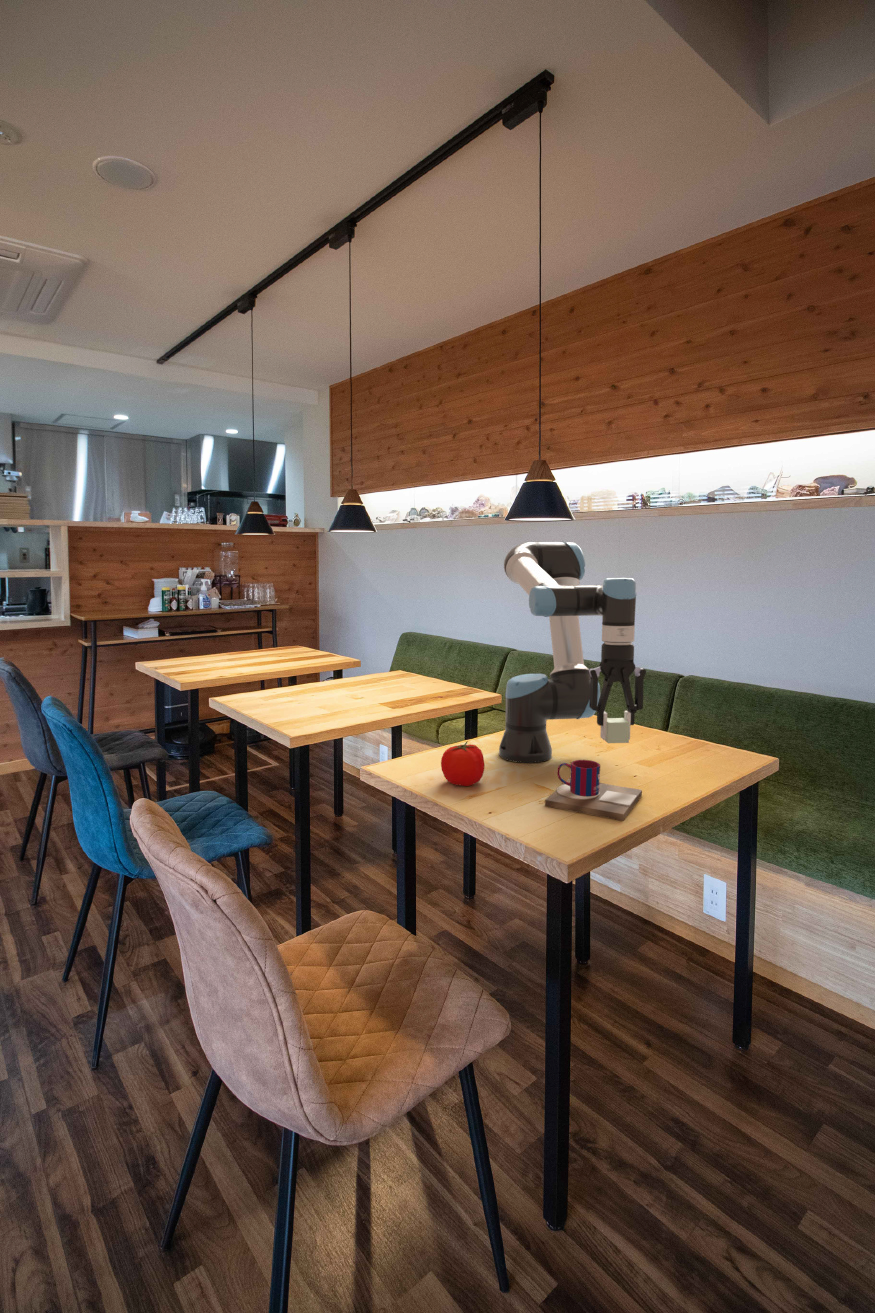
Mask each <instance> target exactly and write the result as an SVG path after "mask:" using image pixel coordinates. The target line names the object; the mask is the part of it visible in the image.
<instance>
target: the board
mask: <svg viewBox="0 0 875 1313" xmlns="http://www.w3.org/2000/svg"><path fill="white" fill-rule="evenodd" d="M570 778H571V777H569V778H568V779H567V780H565V781H566V782H569V783H570ZM642 796H643V790H642V789H639V788H632V787H626V786H619V785H614V784H608V783H601V782H600V783H599V794H598V795H595V796H579V795H575V794H573V793H572V792H571V791H570V786H568V785H566V784H564V783H563V782H562V784H561V785H560V786H558V787H557V788H556V789H555V791H553V792H552V793H551V794H550V795H549V796H547V798H545V799H544V807H548V808H554V809H558V810H564V811H569V812H574V813H579V814H586V815H591V816H596V817H601V818H604V819H605V818H606V819H612V820H617V821H622V822H624V821H625V819H626V818H627V816H628V815H629V814H630V813H631V811H632V810H633V808H634V807H635V806H636V804H637V803H638V802H639V801H640V799H641V798H642Z"/></svg>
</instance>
